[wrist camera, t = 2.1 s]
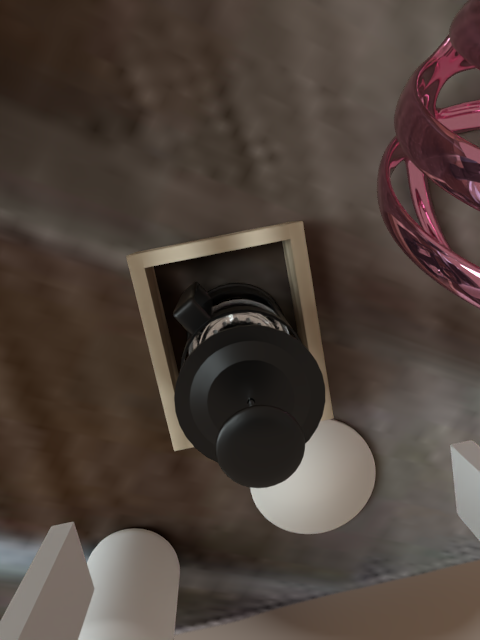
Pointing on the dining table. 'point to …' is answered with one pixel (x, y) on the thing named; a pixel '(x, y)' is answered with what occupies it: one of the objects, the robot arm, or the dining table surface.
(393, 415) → the dining table surface
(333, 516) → the trivet
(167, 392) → the holder
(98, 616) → the wine bottle
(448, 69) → the spiral basket
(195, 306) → the french press
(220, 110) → the dining table surface
